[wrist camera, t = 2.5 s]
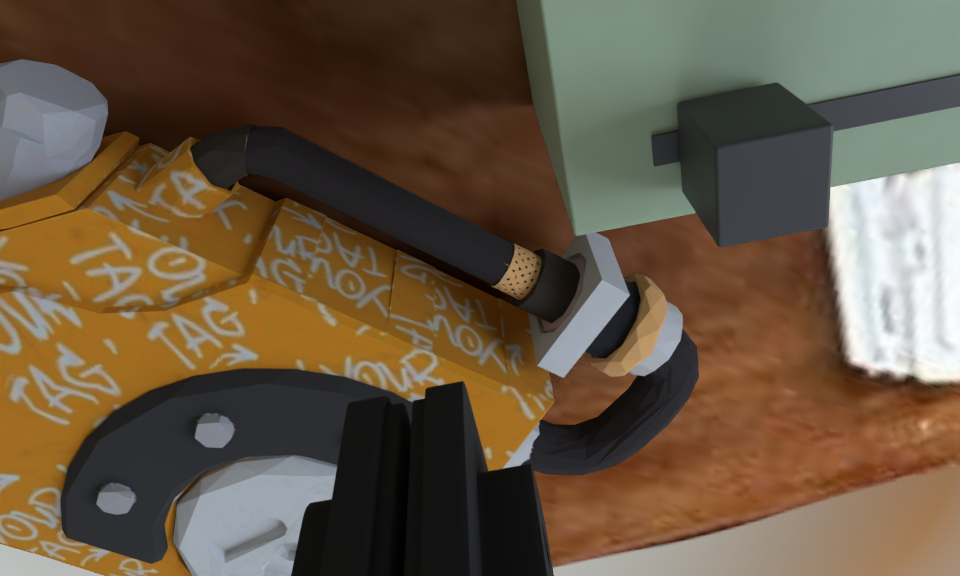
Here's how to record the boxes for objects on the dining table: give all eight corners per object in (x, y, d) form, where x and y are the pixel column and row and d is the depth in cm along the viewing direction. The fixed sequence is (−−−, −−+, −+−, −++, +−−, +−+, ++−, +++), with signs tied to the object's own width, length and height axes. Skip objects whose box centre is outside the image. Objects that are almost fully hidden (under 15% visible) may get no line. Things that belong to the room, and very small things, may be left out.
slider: (675, 101, 18) (714, 146, 15) (778, 80, 17) (835, 123, 15) (681, 193, 19) (718, 249, 16) (777, 174, 19) (829, 228, 16)
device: (-158, -71, 18) (785, 397, 26) (16, -98, 25) (714, 278, 33) (-237, 516, 27) (468, 715, 36) (-97, 376, 34) (465, 571, 43)
